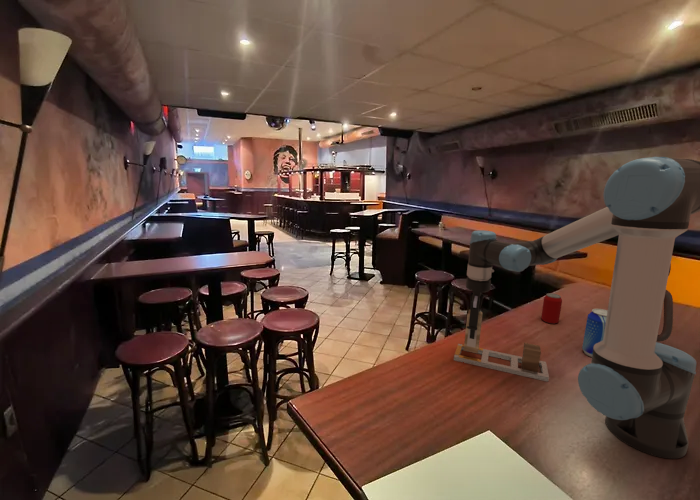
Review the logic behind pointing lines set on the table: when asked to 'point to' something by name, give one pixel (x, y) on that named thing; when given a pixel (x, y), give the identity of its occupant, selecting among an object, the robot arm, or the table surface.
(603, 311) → the beer can
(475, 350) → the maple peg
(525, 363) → the walnut peg
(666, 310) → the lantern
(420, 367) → the table surface
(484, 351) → the white yellow rectangular frame
